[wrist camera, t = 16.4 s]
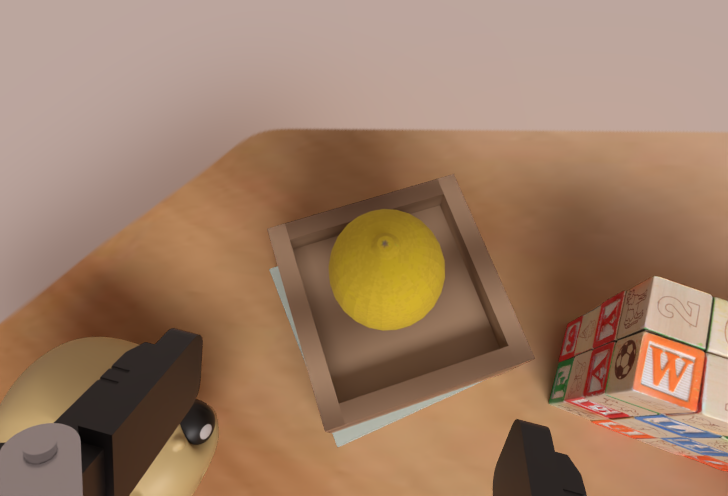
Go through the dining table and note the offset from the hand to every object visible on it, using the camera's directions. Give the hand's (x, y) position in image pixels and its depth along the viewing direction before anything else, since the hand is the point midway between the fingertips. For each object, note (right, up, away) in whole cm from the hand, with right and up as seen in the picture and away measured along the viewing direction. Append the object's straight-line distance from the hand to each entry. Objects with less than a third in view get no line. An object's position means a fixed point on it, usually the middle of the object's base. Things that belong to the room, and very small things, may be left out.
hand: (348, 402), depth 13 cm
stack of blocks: (+24, -8, +23) cm, 34 cm away
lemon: (+2, +1, +16) cm, 16 cm away
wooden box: (+2, -1, +20) cm, 20 cm away
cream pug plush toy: (-14, -9, +22) cm, 28 cm away
